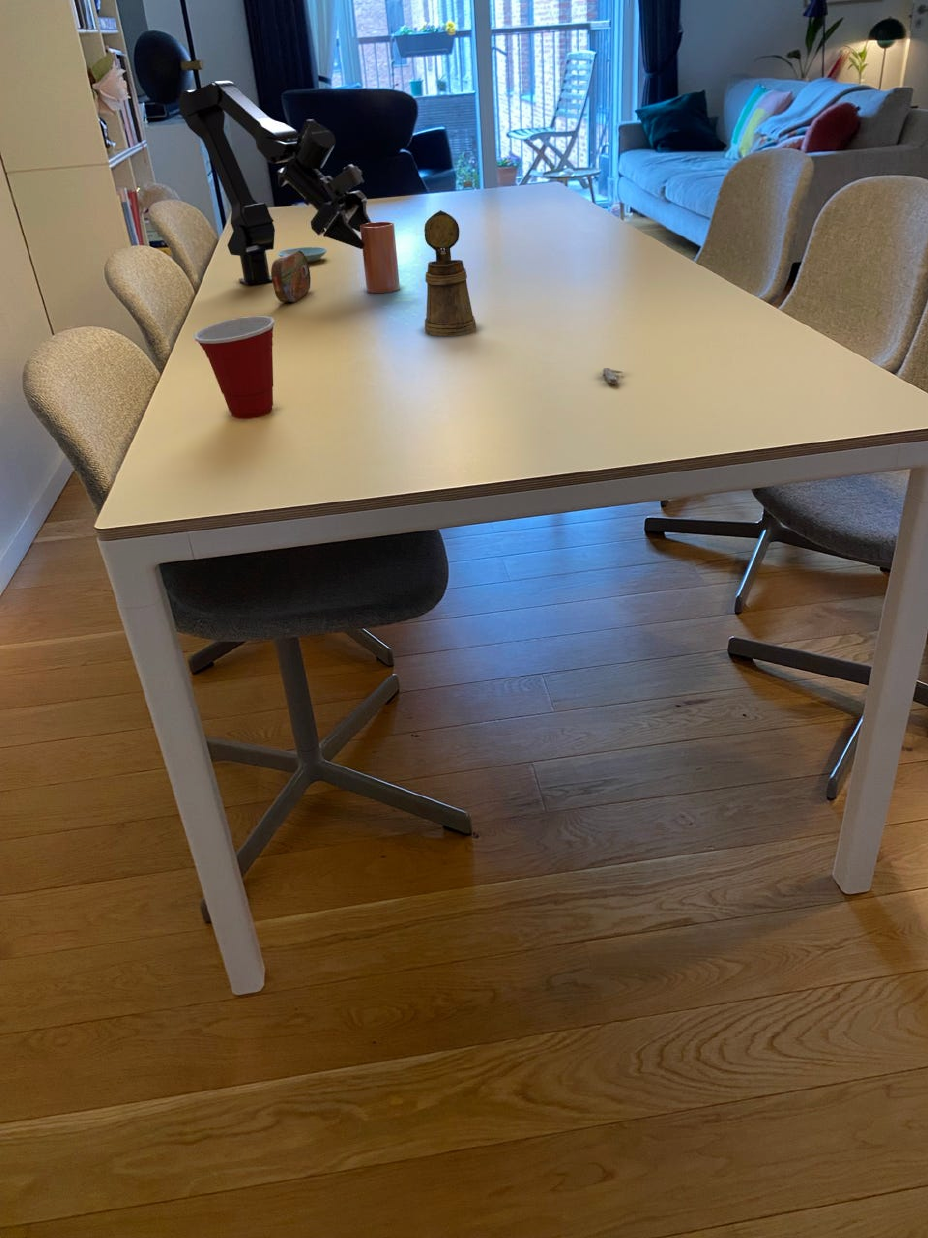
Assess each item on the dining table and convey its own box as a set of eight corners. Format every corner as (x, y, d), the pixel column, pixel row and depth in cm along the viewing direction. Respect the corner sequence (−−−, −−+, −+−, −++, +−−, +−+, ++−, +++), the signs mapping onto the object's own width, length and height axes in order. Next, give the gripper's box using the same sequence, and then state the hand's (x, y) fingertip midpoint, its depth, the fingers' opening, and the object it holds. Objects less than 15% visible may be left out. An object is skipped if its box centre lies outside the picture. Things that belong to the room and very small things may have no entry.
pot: (361, 289, 189) (354, 224, 182) (390, 283, 192) (384, 220, 185) (376, 294, 184) (368, 228, 177) (405, 288, 187) (399, 223, 180)
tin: (288, 306, 180) (281, 261, 175) (273, 306, 180) (266, 262, 176) (313, 289, 192) (307, 246, 188) (300, 289, 193) (293, 247, 188)
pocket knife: (629, 380, 126) (608, 378, 126) (628, 386, 127) (607, 384, 126) (621, 368, 131) (601, 366, 131) (620, 373, 132) (600, 372, 131)
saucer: (323, 254, 226) (322, 244, 225) (332, 262, 216) (331, 251, 215) (276, 259, 223) (274, 250, 222) (283, 268, 214) (281, 257, 212)
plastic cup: (217, 402, 131) (199, 317, 124) (292, 396, 131) (278, 311, 125) (205, 429, 121) (185, 338, 115) (286, 422, 122) (270, 331, 116)
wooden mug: (472, 315, 165) (466, 207, 155) (478, 334, 154) (472, 219, 144) (423, 318, 165) (414, 211, 155) (425, 338, 153) (416, 224, 144)
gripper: (316, 156, 168) (379, 219, 171) (351, 146, 183) (408, 204, 187) (284, 204, 174) (346, 263, 177) (320, 190, 190) (376, 245, 193)
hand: (370, 242), depth 183 cm, fingers open, 9 cm apart
